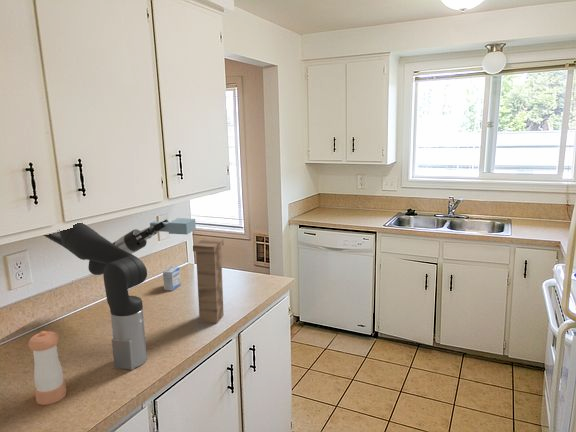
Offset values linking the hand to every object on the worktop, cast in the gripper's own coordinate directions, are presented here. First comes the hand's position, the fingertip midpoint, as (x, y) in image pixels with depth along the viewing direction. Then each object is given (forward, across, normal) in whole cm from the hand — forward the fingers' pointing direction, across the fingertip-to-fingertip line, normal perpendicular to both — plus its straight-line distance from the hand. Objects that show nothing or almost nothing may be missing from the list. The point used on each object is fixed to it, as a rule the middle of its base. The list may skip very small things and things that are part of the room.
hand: (165, 222), depth 157 cm
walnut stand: (-4, 0, +40) cm, 40 cm away
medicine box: (-29, +27, +26) cm, 48 cm away
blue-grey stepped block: (+1, 0, +4) cm, 4 cm away
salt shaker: (-27, -53, +27) cm, 65 cm away
